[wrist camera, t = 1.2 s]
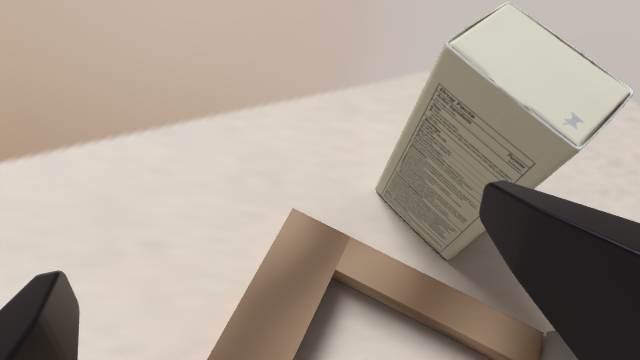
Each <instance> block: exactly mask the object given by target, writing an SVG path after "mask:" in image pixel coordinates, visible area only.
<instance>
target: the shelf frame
mask: <svg viewBox="0 0 640 360" xmlns="http://www.w3.org/2000/svg"><path fill="white" fill-rule="evenodd" d="M331 278H334V279H336V280H338V281H340V282H342V283H344V284H346V285H348V286H350V287H352V288H354V289H356V290H358V291H360V292H362V293H363V294H365V295H367V296H369V297H371V298H373V299H375V300H377V301H379V302H381V303H383V304H385V305H387V306H389V307H391V308H393V309H395V310H397V311H399V312H401V313H403V314H405V315H407V316H409V317H411V318H412V319H414V320H416V321H418V322H420V323H422V324H424V325H426V326H428V327H430V328H432V329H434V330H436V331H438V332H440V333H442V334H444V335H446V336H448V337H450V338H452V339H454V340H456V341H458V342H460V343H462V344H463V345H465V346H467V347H469V348H471V349H473V350H475V351H477V352H479V353H481V354H483V355H485V356H487V357H489V358H491V359H493V360H578V359H577V358H576V357H575V355H574V354H573V353H572V351H571V350H570V349H569V347H568V346H567V345H566V343H565V342H564V341H563V340H562V338H561V337H560V336H559V334H558V333H557V332H556V331H550V332H547V335H546V337H545V336H543V333H542V332H540V331H538V330H536V329H534V328H532V327H530V326H528V325H526V324H524V323H522V322H520V321H518V320H516V319H514V318H512V317H510V316H508V315H506V314H504V313H502V312H500V311H498V310H496V309H494V308H492V307H490V306H488V305H486V304H484V303H482V302H480V301H478V300H476V299H474V298H472V297H470V296H468V295H466V294H464V293H462V292H460V291H458V290H456V289H454V288H452V287H450V286H448V285H446V284H444V283H442V282H440V281H438V280H436V279H434V278H432V277H430V276H428V275H426V274H424V273H422V272H420V271H418V270H416V269H414V268H412V267H410V266H408V265H406V264H404V263H402V262H400V261H398V260H396V259H394V258H392V257H390V256H388V255H386V254H384V253H382V252H380V251H378V250H376V249H374V248H372V247H370V246H368V245H366V244H364V243H362V242H360V241H358V240H356V239H354V238H352V237H350V236H348V235H346V234H344V233H342V232H340V231H338V230H336V229H334V228H332V227H330V226H328V225H326V224H324V223H322V222H320V221H318V220H316V219H314V218H312V217H310V216H308V215H306V214H304V213H302V212H300V211H298V210H296V209H294V208H293V209H292V210H291V212H290V214H289V216H288V218H287V219H286V221H285V223H284V225H283V226H282V228H281V230H280V232H279V233H278V235H277V237H276V239H275V241H274V242H273V244H272V246H271V248H270V249H269V251H268V253H267V255H266V256H265V258H264V260H263V262H262V263H261V265H260V267H259V269H258V271H257V272H256V274H255V276H254V278H253V279H252V281H251V283H250V285H249V286H248V288H247V290H246V292H245V294H244V295H243V297H242V299H241V301H240V302H239V304H238V306H237V308H236V309H235V311H234V313H233V315H232V317H231V318H230V320H229V322H228V324H227V325H226V327H225V329H224V331H223V332H222V334H221V336H220V338H219V340H218V341H217V343H216V345H215V347H214V348H213V350H212V352H211V354H210V355H209V357H208V359H207V360H293V358H294V356H295V354H296V352H297V350H298V348H299V346H300V343H301V341H302V339H303V337H304V335H305V333H306V331H307V329H308V327H309V324H310V322H311V320H312V318H313V316H314V314H315V312H316V310H317V307H318V305H319V303H320V301H321V299H322V297H323V295H324V293H325V290H326V288H327V286H328V284H329V282H330V280H331Z"/></svg>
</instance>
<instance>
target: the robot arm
mask: <svg viewBox="0 0 640 360" xmlns="http://www.w3.org/2000/svg"><path fill="white" fill-rule="evenodd" d="M479 217H480V220H481V222H482V224H483V226H484V227H485V229H486V231H487V232H488V234H489V236H490V237H491V239H492V241H493V242H494V244H495V246H496V247H497V249H498V250H499V252H500V254H501V255H502V257H503V259H504V260H505V262H506V264H507V265H508V267H509V268H510V270H511V271H512V273H513V274H514V276H515V277H516V279H517V280H518V281H519V283H520V284H521V285H522V287H523V288H524V289H525V291H526V292H527V293H528V295H529V296H530V297H531V299H532V300H533V301H534V303H535V304H536V305H537V306H538V308H539V309H540V310H541V312H542V313H543V314H544V316H545V317H546V318H547V320H548V321H549V322H550V324H551V325H552V326H553V328H554V329H555V330H556V332H557V333H558V334H559V336H560V337H561V338H562V340H563V341H564V342H565V343H566V345H567V346H568V347H569V349H570V350H571V351H572V353H573V354H574V355H575V357H576V358H577V359H578V360H640V223H638V222H635V221H631V220H628V219H625V218H622V217H619V216H616V215H612V214H609V213H606V212H603V211H600V210H597V209H594V208H590V207H587V206H584V205H581V204H578V203H575V202H572V201H568V200H565V199H562V198H559V197H556V196H553V195H550V194H546V193H543V192H540V191H537V190H534V189H531V188H528V187H524V186H521V185H518V184H515V183H512V182H509V181H505V180H499V181H494V182H489V183H487V184H486V185H485V187H484V190H483V195H482V199H481V204H480V209H479ZM78 336H79V304H78V301H77V299H76V296H75V294H74V292H73V290H72V288H71V286H70V283H69V281H68V279H67V277H66V275H65V274H64V273H63V272H62V271H53V272H48V273H43V274H39V275H37V276H35V277H34V278H33V279H32V280H31V281H30V282H29V283H28V284H27V285H26V286H25V287H24V288H23V289H22V290H21V291H19V292H18V293H17V294H16V295H15V296H14V297H13V298H12V299H11V300H10V301H9V302H8V303H7V304H6V305H5V306H4V307H3V308H2V309H1V310H0V360H77V359H78Z"/></svg>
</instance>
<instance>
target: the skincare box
mask: <svg viewBox="0 0 640 360" xmlns="http://www.w3.org/2000/svg"><path fill="white" fill-rule="evenodd" d="M632 95H633V91H632V89H630V87H628V86H627V85H625V84H624V83H622V82H621V81H620V80H619V79H617V78H616V77H615V76H613V75H612V74H611V73H609V72H608V71H607V70H605V69H604V68H603V67H601V66H600V65H599V64H597V63H596V62H595V61H593V60H592V59H590V58H589V57H587V56H586V55H585V54H584V53H582V52H581V51H579V50H578V49H576V48H575V47H574V46H573V45H571V44H570V43H568V42H567V41H565V40H564V39H563V38H561V37H560V36H558V35H557V34H555V33H554V32H553V31H551V30H550V29H548V28H547V27H546V26H544V25H543V24H541V23H540V22H539V21H537V20H535V19H534V18H532V17H531V16H530V15H528V14H527V13H525V12H523V10H521V9H520V8H518V7H517V6H515V5H514V4H513V3H511V2H509V1H507V2H505V3H504V4H502V5H501V6H500V7H498V8H496V9H494V10H493V11H491V12H489V13H488V14H486V15H484V16H483V17H481V18H480V19H478V20H476V21H475V22H474V23H472V24H471V25H469V26H467V27H466V28H464V29H463V30H461V31H459V32H458V33H457V34H455V35H454V36H452V37H450V38H449V39H448V40H447V41H446V42H445V44H444V46H443V49H442V51H441V53H440V55H439V57H438V59H437V61H436V64H435V65H434V67H433V69H432V71H431V74H430V76H429V78H428V80H427V82H426V84H425V86H424V88H423V90H422V92H421V94H420V96H419V98H418V100H417V102H416V105H415V107H414V109H413V111H412V113H411V115H410V117H409V119H408V121H407V123H406V125H405V127H404V129H403V131H402V133H401V136H400V138H399V140H398V142H397V144H396V146H395V148H394V150H393V152H392V154H391V156H390V158H389V160H388V162H387V164H386V167H385V169H384V171H383V173H382V175H381V177H380V179H379V181H378V183H377V185H376V191H377V192H378V193H379V194H380V195H381V196H382V197H383V199H384V200H385V201H386V202H387V203H388V204H389V205H390V206H391V207H392V208H393V209H394V210H395V211H396V212H397V213H398V214H399V215H400V216H401V217H402V218H403V219H404V220H405V221H406V222H407V223H408V224H409V225H410V226H411V227H412V228H413V229H414V230H415V231H417V232H418V233H419V234H420V235H421V236H422V237H423V238H424V239H425V240H426V241H427V242H428V243H429V244H430V245H431V246H432V247H433V248H435V249H436V250H437V251H438V252H439V253H440V254H441V255H442V256H443V257H444V258H445V259H447V260H450V259H451V258H453V257H454V256H455V255H456V254H457V253H459V252H460V251H461V250H462V249H463V248H465V247H466V246H467V245H468V244H469V243H471V242H472V241H473V240H474V239H475V238H477V237H478V236H479V235H480V234H481V233H483V232H484V231H485V230H486V229H485V227H484V226H483V224H482V222H481V220H480V217H479V209H480V204H481V199H482V195H483V190H484V187H485V185H486V184H487V183H489V182H494V181H499V180H505V181H509V182H512V183H515V184H518V185H521V186H524V187H528V188H531V189H535V188H536V187H537V186H538V185H540V184H541V183H542V182H543V181H544V180H545V179H547V178H548V177H549V176H550V175H551V174H553V173H554V172H555V171H556V170H557V169H559V168H560V167H561V166H562V165H563V164H565V163H566V162H567V161H568V160H570V159H571V158H572V157H573V156H574V155H576V154H577V153H578V152H579V151H580V150H581V149H582V148H583V147H585V146H586V145H587V144H588V143H589V142H590V141H591V140H592V139H593V138H594V137H595V136H596V135H597V134H598V133H599V132H600V131H601V130H602V129H603V128H604V127H605V126H606V125H607V124H608V123H609V122H610V121H611V120H612V118H613V117H614V116H615V115H616V114H617V113H618V112H619V111H620V110H621V109H622V107H623V106H624V105H625V104H626V102H627V101H628V100H629V99H630V98H631V97H632Z"/></svg>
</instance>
